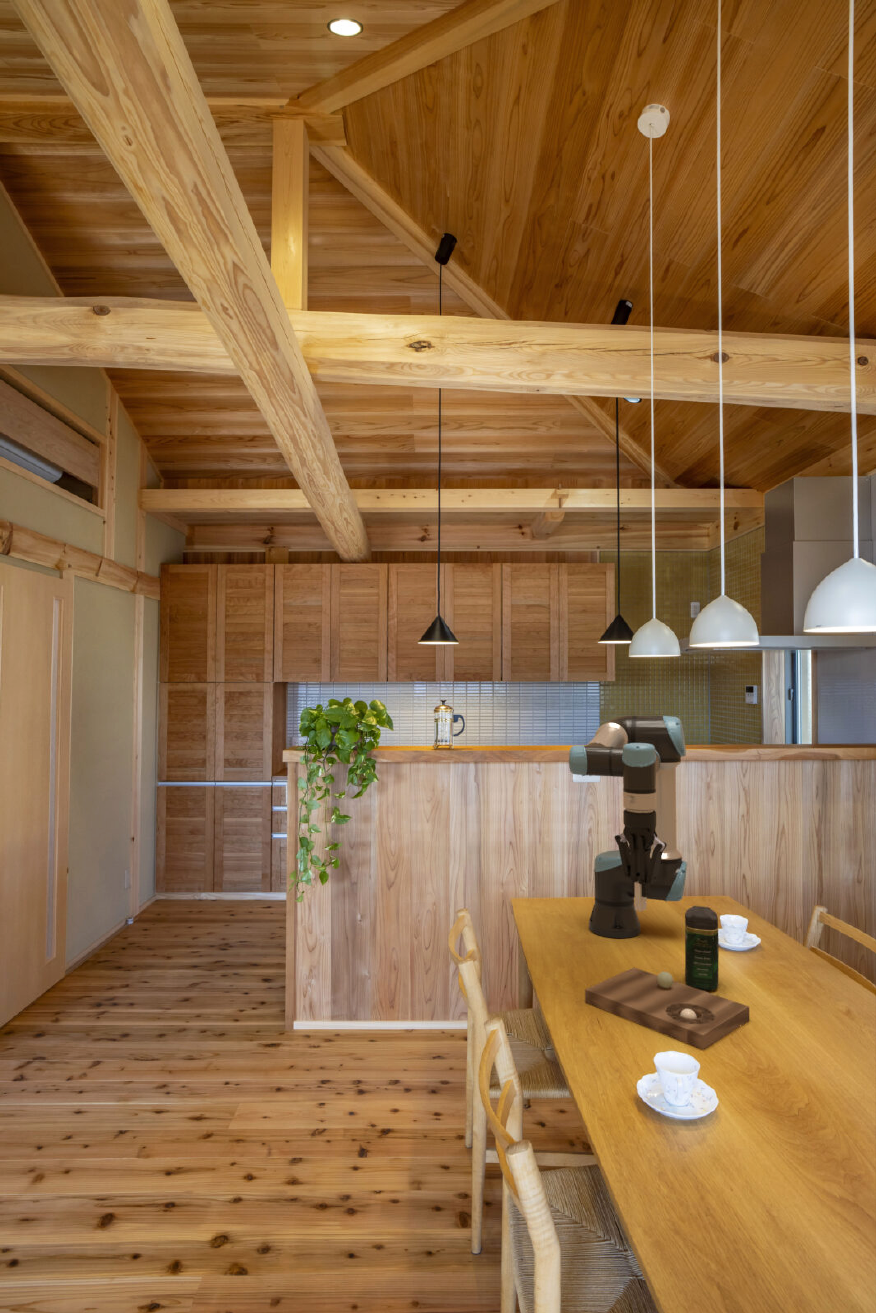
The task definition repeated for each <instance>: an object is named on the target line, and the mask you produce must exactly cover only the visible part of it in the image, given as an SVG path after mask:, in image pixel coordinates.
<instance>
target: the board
mask: <svg viewBox="0 0 876 1313" xmlns="http://www.w3.org/2000/svg"><path fill="white" fill-rule="evenodd" d="M658 975H659V974H654V973H652V972H649V971H646V970H643V969H639V968H637V967H632V968H629V969H627V970H625V971H623V972H621V973H619V974H616V975H614V976H612V977H609V978H607V979H605V980H603V981H601V982H598V983H597V984H594V985H592V986H589V987H587V988H586V989H584V1003H585V1004H588V1005H591V1006H594V1007H596V1008H598V1009H600V1010H603V1011H606V1012H607V1013H610V1012H611V1013H610V1014H612V1015H616V1016H618V1017H620V1016H621V1017H620V1018H623V1017H624V1018H623V1019H625V1018H626V1019H625V1020H627V1019H628V1020H627V1021H630V1022H632V1021H633V1023H636V1024H638V1025H640V1026H642V1025H643V1026H642V1027H645V1026H646V1027H645V1028H647V1027H648V1028H647V1029H650V1030H653V1031H655V1032H657V1031H658V1033H661V1034H662V1035H665V1034H666V1035H665V1036H667V1035H668V1036H667V1037H671V1038H673V1039H675V1040H678V1041H679V1042H683V1043H685V1044H687V1045H689V1046H692V1047H695V1048H697V1049H699V1050H702V1051H705V1050H706V1049H707V1048H709V1047H710V1046H712V1045H714V1044H715V1043H717V1042H718V1041H720V1040H721V1039H723V1038H724V1037H726V1036H728V1035H729V1034H731V1033H732V1032H733V1031H735V1030H737V1029H738V1028H740V1027H741V1026H743V1025H745V1024H746V1023H748V1022H749V1021H750V1006H749V1005H745V1004H743V1003H739V1002H737V1001H734V1000H732V999H728V998H726V997H722V996H720V995H716V994H714V993H710V992H707V991H702V990H699V989H696V988H693V987H690V986H687V984H685V983H681V982H678V981H676V980H675V981H674V980H673V984H672V986H671V987H669V988H663V987H661V986H660V985H659V984H658V981H657V977H658ZM684 1009H691V1010H693V1011H694V1012H695V1014H696V1016H697V1019H690V1018H685V1017H683V1016H681V1015H680V1013H681V1011H682V1010H684ZM740 1025H741V1026H740Z"/></svg>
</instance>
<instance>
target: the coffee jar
mask: <svg viewBox="0 0 876 1313" xmlns="http://www.w3.org/2000/svg"><path fill="white" fill-rule="evenodd" d="M684 918H685V919H684V938H685V939H684V955H685V956H684V959H685V960H684V961H685V962H684V963H685V964H684V965H685V966H684V973H685V975H684V979H685V983H686V984H685V985H687V986H690V987H693V988H696V989H699V990H702V991H705V992H707V991H716V990H717V989H718V987H719V954H720V953H719V950H720V949H719V947H720V945H719V942H720V940H719V918H718V914H717V913H716V911H714V910H713V909H711V907H707V906H701V905H693V906H692V907H690V908H688V909H687V910H686V912H685V916H684Z"/></svg>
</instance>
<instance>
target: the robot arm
mask: <svg viewBox="0 0 876 1313" xmlns="http://www.w3.org/2000/svg"><path fill="white" fill-rule="evenodd" d="M684 732H685V731H684V727H683V723H682V720H681V719H680V718H678V717H677V716H671V715H670V716H669V715H630V714H629V715H622V716H618V717H615V718H613V719H609V720H607V721H606V722H604V723H603V724H601V725H600V726H599V727H598V728H597V730H596V731H595V734H594V737H593V738H592V739H591V740H590V741H589V742H588V743H587V745H585V744H580V745H578V744H577V745H572V746H571V747H570V749H569V753H568V767H569V771H570V772H571V773H572V774H573V775H579V776H583V777H585V776H597V777H614V778H615V777H616V778H622V779H623V780H622V781H623V782H622V785H623V789H622V796H623V800H622V801H623V804H622V805H623V808H624V810H623V811H622V812H623V813H622V814H623V816H622V818H623V826H624V828H623V831H622V833H619V834H618V835H615V836H614V841H615V842H616V844H617V846H618V850H617V849H615V850H608V851H604V852H600V853H599V854H597V855H596V856H595V858H594V869H593V872H594V904H593V907H592V910H591V912H590V916H589V919H588V929H589V931H590V932H591V933H594V934H596V935H597V936H601V937H605V938H613V939H628V938H633V937H637V936H639V935H640V934H641V923H640V920H639V916H638V913H637V912H643V911H645V910H647V909H648V903H647V901H648V900H656V901H664V902H679V901H680V902H681V900H682V899H683V896H684V892H685V885H686V878H687V871H688V870H687V869H688V862H687V861H685V860H683V858H682V857H683V854H682V853H681V852H680V851H679V850H678V849H677V798H676V796H677V791H676V790H677V788H676V786H677V782H676V781H677V780H676V776H677V775H676V770H677V769H676V768H677V767H678V766H679V765H680V764H681V763H682V757H685V756H686V754H687V750H686V749H687V748H686V738H685V733H684Z"/></svg>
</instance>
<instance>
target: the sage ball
mask: <svg viewBox="0 0 876 1313" xmlns="http://www.w3.org/2000/svg"><path fill="white" fill-rule="evenodd" d="M657 975H658V977H657V981H658V984H659V985H660V986H661V987H663V988H669V987H671V986H672V984H673V981H674V977H673V976H672V974H670V973H669V972H668V971H661V972H660V973H658V974H657Z"/></svg>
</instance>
